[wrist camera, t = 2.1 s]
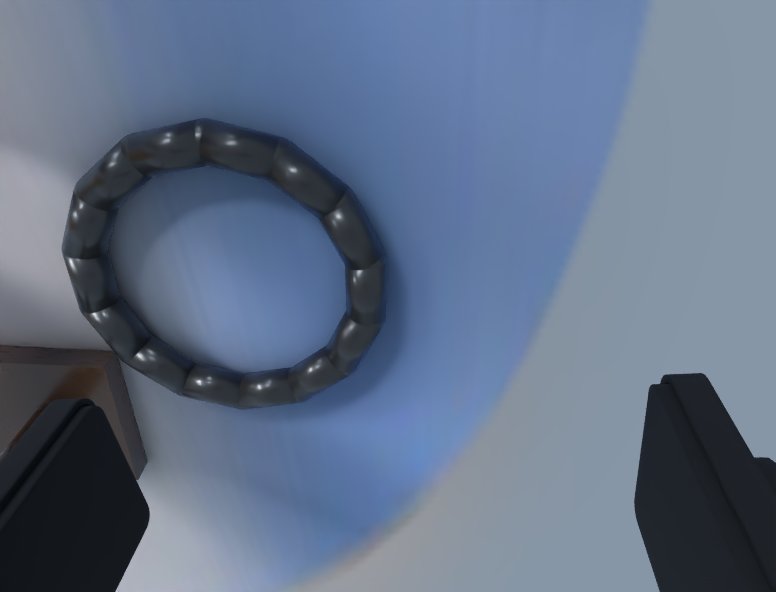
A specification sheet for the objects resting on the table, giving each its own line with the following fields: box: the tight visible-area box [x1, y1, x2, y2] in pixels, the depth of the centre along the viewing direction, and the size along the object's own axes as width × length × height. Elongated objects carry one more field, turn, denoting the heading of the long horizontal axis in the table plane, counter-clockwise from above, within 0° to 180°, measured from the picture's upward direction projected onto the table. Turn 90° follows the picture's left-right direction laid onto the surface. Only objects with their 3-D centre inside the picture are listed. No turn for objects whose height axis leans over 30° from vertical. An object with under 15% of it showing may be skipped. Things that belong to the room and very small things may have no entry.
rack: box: [0, 346, 147, 480], centre depth 32 cm, size 9×9×12 cm
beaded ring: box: [62, 119, 386, 410], centre depth 31 cm, size 16×16×2 cm
